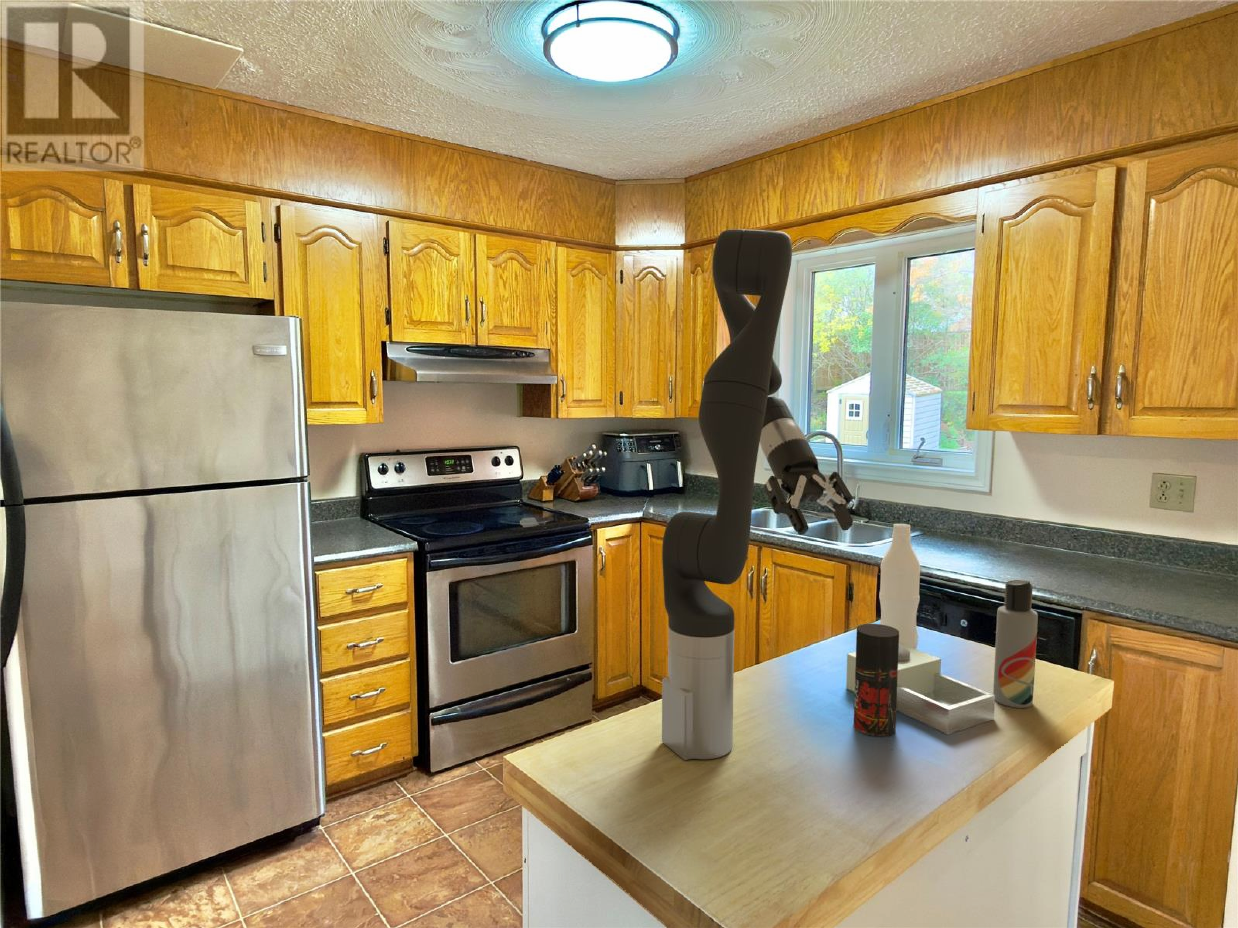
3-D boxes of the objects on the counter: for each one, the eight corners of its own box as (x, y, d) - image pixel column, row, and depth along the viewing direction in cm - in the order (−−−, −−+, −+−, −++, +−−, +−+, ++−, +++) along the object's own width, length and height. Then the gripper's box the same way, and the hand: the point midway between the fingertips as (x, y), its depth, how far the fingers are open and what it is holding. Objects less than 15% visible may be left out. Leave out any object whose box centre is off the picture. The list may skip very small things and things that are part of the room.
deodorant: (845, 721, 109) (848, 625, 107) (878, 716, 111) (881, 622, 109) (870, 739, 103) (873, 638, 102) (904, 733, 105) (908, 634, 104)
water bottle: (905, 662, 133) (910, 530, 130) (870, 652, 138) (874, 524, 136) (924, 653, 137) (929, 525, 135) (889, 643, 143) (894, 520, 140)
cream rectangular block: (888, 708, 113) (890, 666, 113) (846, 688, 121) (847, 648, 121) (939, 693, 119) (941, 653, 118) (895, 675, 127) (897, 636, 126)
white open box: (947, 734, 105) (948, 709, 104) (891, 707, 114) (892, 684, 113) (993, 719, 110) (995, 695, 109) (936, 694, 119) (937, 672, 118)
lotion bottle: (1029, 712, 112) (1037, 587, 110) (989, 702, 115) (996, 581, 114) (1035, 699, 117) (1042, 579, 115) (996, 691, 120) (1002, 574, 118)
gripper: (760, 438, 118) (800, 520, 109) (831, 435, 123) (874, 513, 114) (742, 466, 123) (779, 546, 114) (811, 462, 128) (850, 538, 120)
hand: (826, 530), depth 114 cm, fingers open, 8 cm apart
